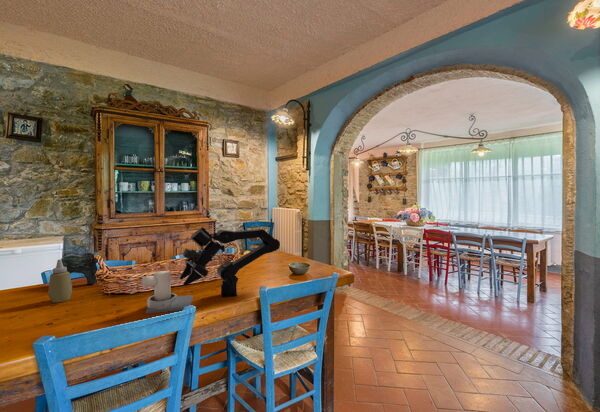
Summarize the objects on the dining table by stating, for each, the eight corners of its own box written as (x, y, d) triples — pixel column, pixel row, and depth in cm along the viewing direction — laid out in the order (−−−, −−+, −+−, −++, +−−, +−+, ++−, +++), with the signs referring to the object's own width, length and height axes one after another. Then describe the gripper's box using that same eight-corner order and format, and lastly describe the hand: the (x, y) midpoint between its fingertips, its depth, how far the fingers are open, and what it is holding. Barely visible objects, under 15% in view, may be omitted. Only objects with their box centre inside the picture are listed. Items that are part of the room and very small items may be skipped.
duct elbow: (168, 300, 120) (167, 270, 119) (172, 304, 115) (172, 272, 115) (141, 306, 113) (141, 274, 112) (145, 311, 108) (145, 277, 108)
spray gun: (102, 282, 148) (101, 244, 147) (94, 286, 142) (93, 247, 141) (63, 283, 147) (62, 245, 146) (53, 287, 141) (52, 247, 140)
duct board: (192, 297, 126) (192, 288, 126) (189, 309, 113) (189, 299, 113) (152, 301, 122) (152, 291, 122) (144, 314, 108) (144, 303, 108)
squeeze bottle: (76, 298, 124) (75, 258, 124) (54, 305, 117) (53, 262, 116) (66, 296, 128) (65, 257, 127) (44, 302, 120) (43, 260, 120)
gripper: (190, 238, 129) (164, 265, 124) (199, 245, 113) (170, 276, 108) (208, 253, 133) (183, 280, 128) (219, 261, 118) (192, 292, 112)
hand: (182, 281), depth 119 cm, fingers open, 9 cm apart
